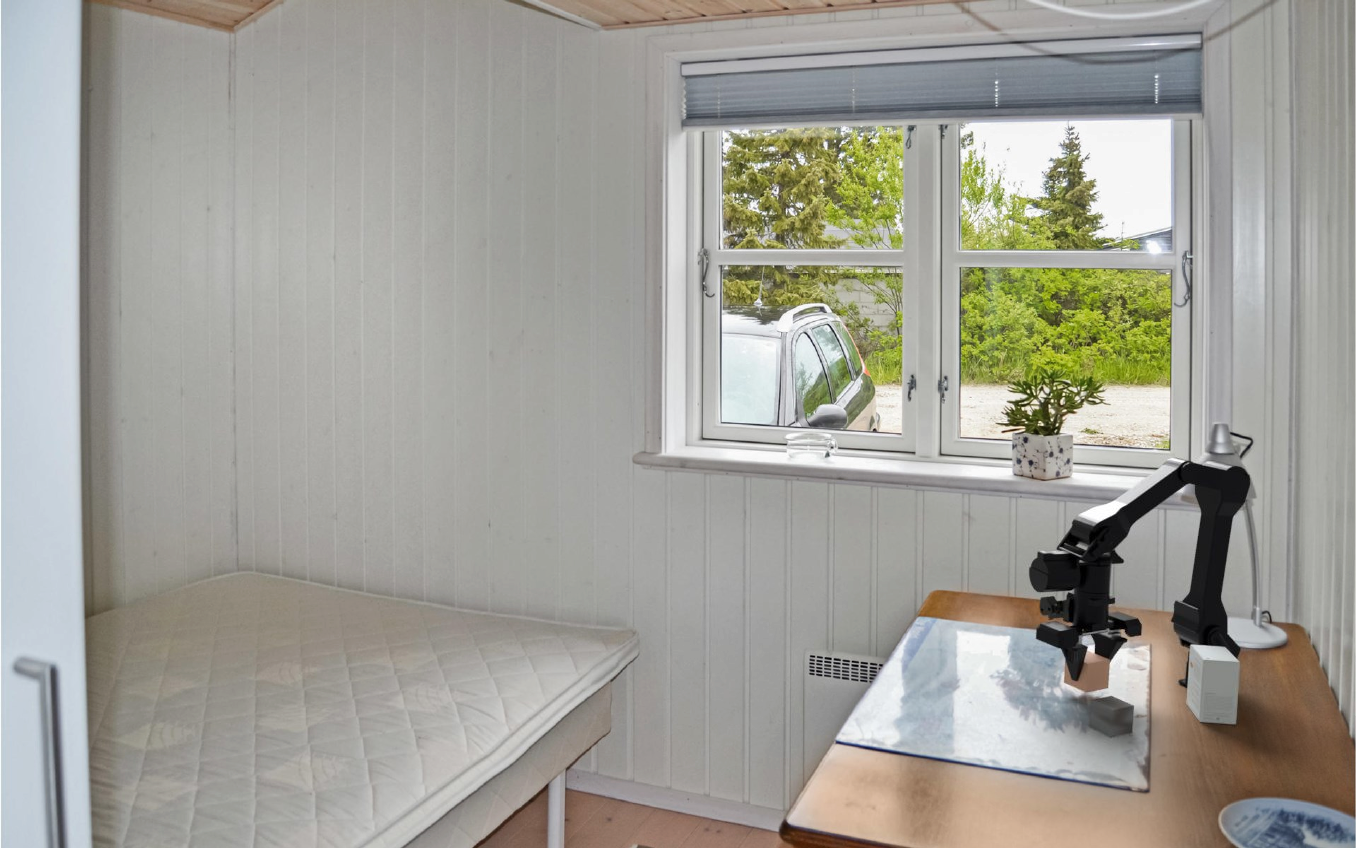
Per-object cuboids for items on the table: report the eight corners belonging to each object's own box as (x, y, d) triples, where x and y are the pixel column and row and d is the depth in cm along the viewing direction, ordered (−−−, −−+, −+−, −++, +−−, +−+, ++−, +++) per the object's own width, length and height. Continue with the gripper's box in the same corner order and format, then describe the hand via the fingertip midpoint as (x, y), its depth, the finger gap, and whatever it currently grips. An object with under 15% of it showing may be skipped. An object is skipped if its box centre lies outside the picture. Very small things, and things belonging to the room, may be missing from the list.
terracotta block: (1085, 678, 184) (1087, 650, 184) (1108, 688, 180) (1110, 659, 179) (1063, 682, 182) (1065, 654, 182) (1086, 692, 178) (1087, 663, 177)
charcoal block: (1109, 722, 171) (1111, 695, 170) (1132, 733, 167) (1134, 705, 166) (1088, 727, 169) (1090, 699, 168) (1110, 738, 165) (1112, 710, 164)
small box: (1236, 726, 170) (1241, 662, 168) (1198, 722, 171) (1203, 659, 169) (1221, 707, 177) (1226, 646, 176) (1185, 704, 179) (1189, 643, 177)
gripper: (1096, 571, 190) (1091, 656, 192) (1015, 582, 182) (1010, 670, 184) (1146, 587, 180) (1140, 676, 182) (1063, 600, 172) (1058, 692, 174)
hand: (1086, 678), depth 181 cm, fingers closed on terracotta block, 5 cm apart
